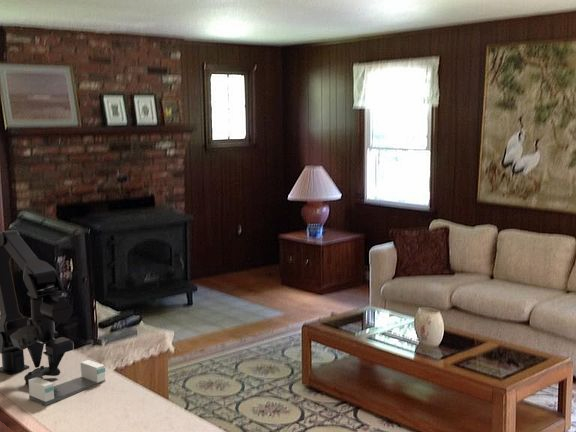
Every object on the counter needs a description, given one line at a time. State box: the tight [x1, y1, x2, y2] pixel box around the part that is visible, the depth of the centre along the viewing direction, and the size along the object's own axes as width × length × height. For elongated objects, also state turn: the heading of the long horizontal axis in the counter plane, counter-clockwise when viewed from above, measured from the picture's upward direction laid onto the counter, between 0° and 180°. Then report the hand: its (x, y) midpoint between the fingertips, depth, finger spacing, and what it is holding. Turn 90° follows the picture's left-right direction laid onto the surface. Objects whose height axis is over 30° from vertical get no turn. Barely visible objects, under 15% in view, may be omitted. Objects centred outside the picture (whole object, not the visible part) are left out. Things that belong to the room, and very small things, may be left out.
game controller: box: [23, 365, 61, 386], centre depth 186 cm, size 10×5×6 cm
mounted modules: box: [28, 359, 106, 402], centre depth 180 cm, size 7×18×4 cm, turn 142°
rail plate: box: [28, 376, 106, 406], centre depth 181 cm, size 7×18×1 cm, turn 142°
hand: (44, 370), depth 186 cm, fingers open, 7 cm apart
